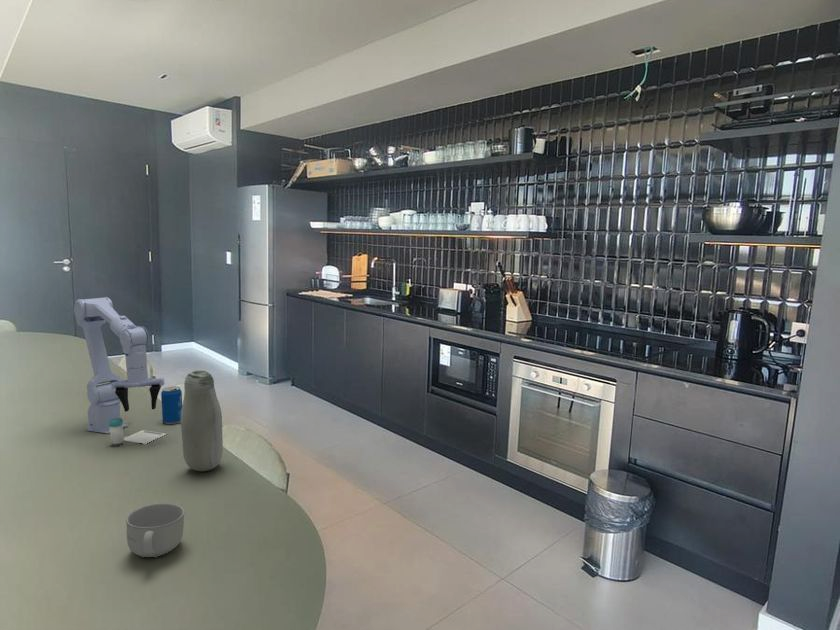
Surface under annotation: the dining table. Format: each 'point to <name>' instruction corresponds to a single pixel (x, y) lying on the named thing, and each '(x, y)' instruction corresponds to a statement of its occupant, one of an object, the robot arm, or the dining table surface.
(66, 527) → the dining table surface
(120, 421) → the white teal capped bottle
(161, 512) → the teacup
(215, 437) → the grey bottle
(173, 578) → the dining table surface
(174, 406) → the beverage can
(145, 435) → the white flat panel
